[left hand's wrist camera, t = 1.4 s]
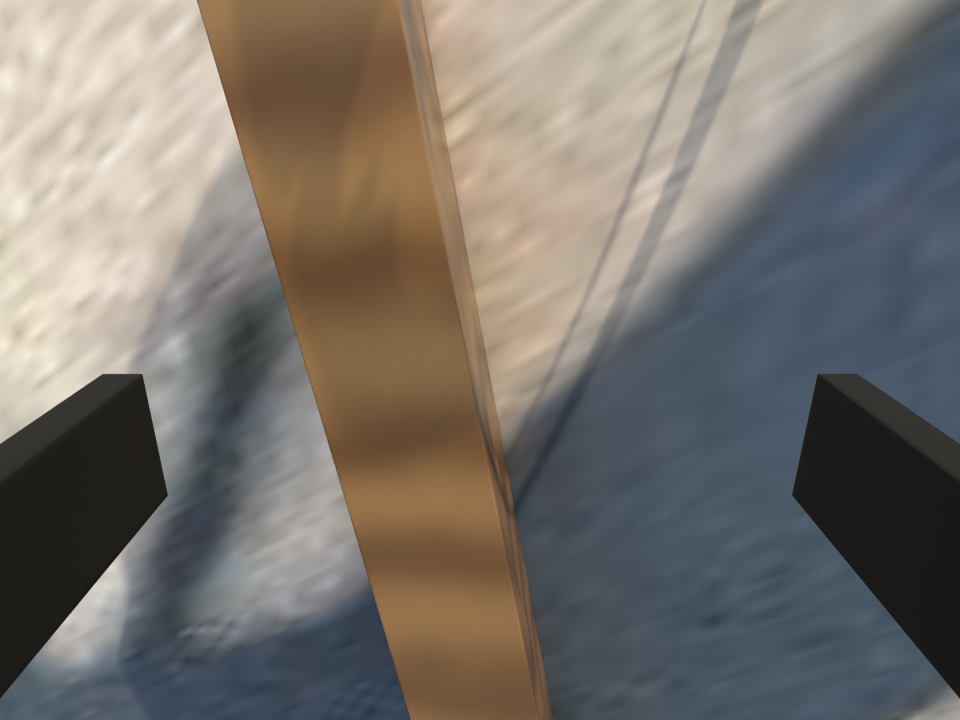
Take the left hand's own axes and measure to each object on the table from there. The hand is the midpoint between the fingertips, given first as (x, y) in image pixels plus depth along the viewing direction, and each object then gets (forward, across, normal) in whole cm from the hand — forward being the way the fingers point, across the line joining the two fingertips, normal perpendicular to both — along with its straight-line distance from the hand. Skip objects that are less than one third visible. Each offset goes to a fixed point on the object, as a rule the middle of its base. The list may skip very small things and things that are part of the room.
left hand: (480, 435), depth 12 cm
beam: (+17, +2, -29) cm, 34 cm away
